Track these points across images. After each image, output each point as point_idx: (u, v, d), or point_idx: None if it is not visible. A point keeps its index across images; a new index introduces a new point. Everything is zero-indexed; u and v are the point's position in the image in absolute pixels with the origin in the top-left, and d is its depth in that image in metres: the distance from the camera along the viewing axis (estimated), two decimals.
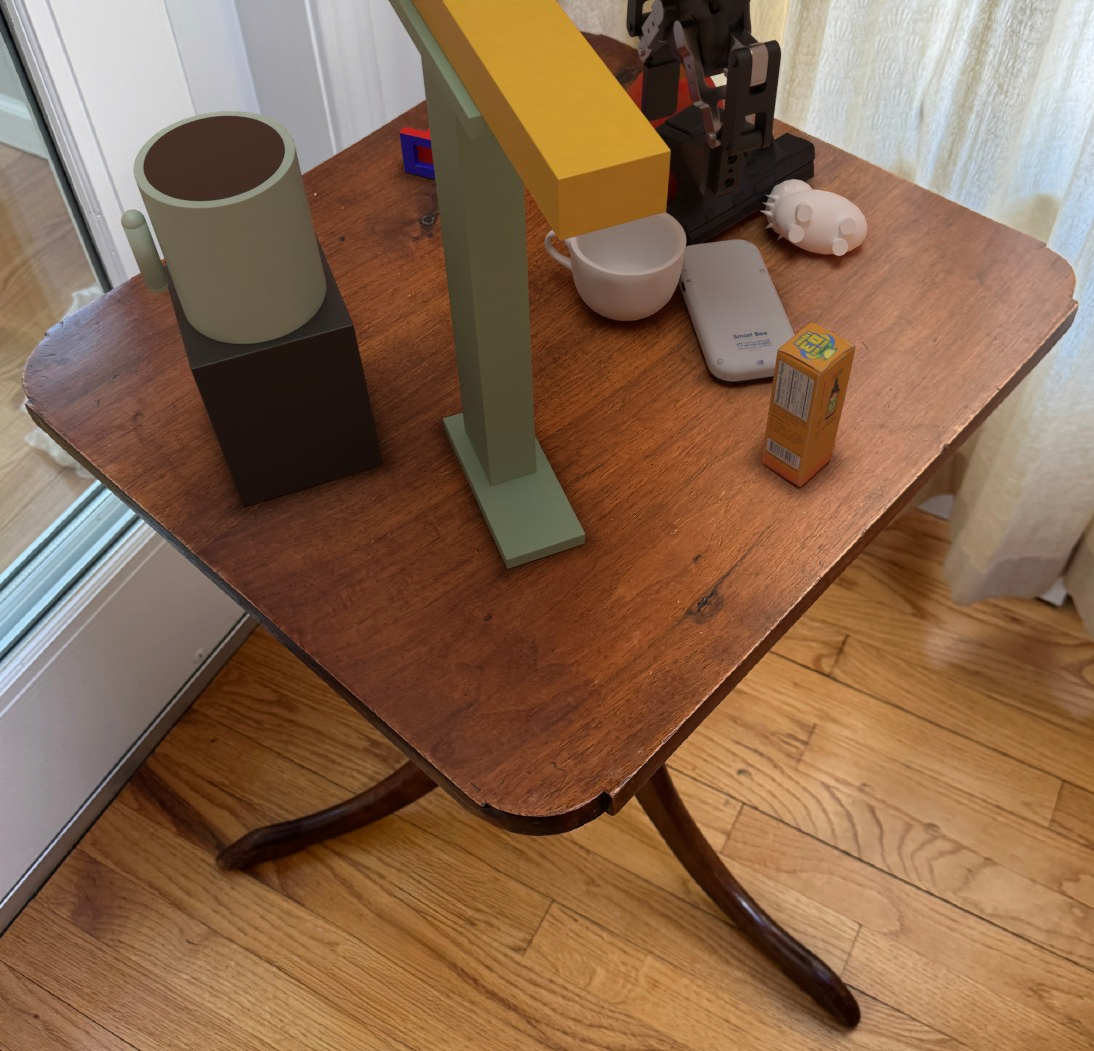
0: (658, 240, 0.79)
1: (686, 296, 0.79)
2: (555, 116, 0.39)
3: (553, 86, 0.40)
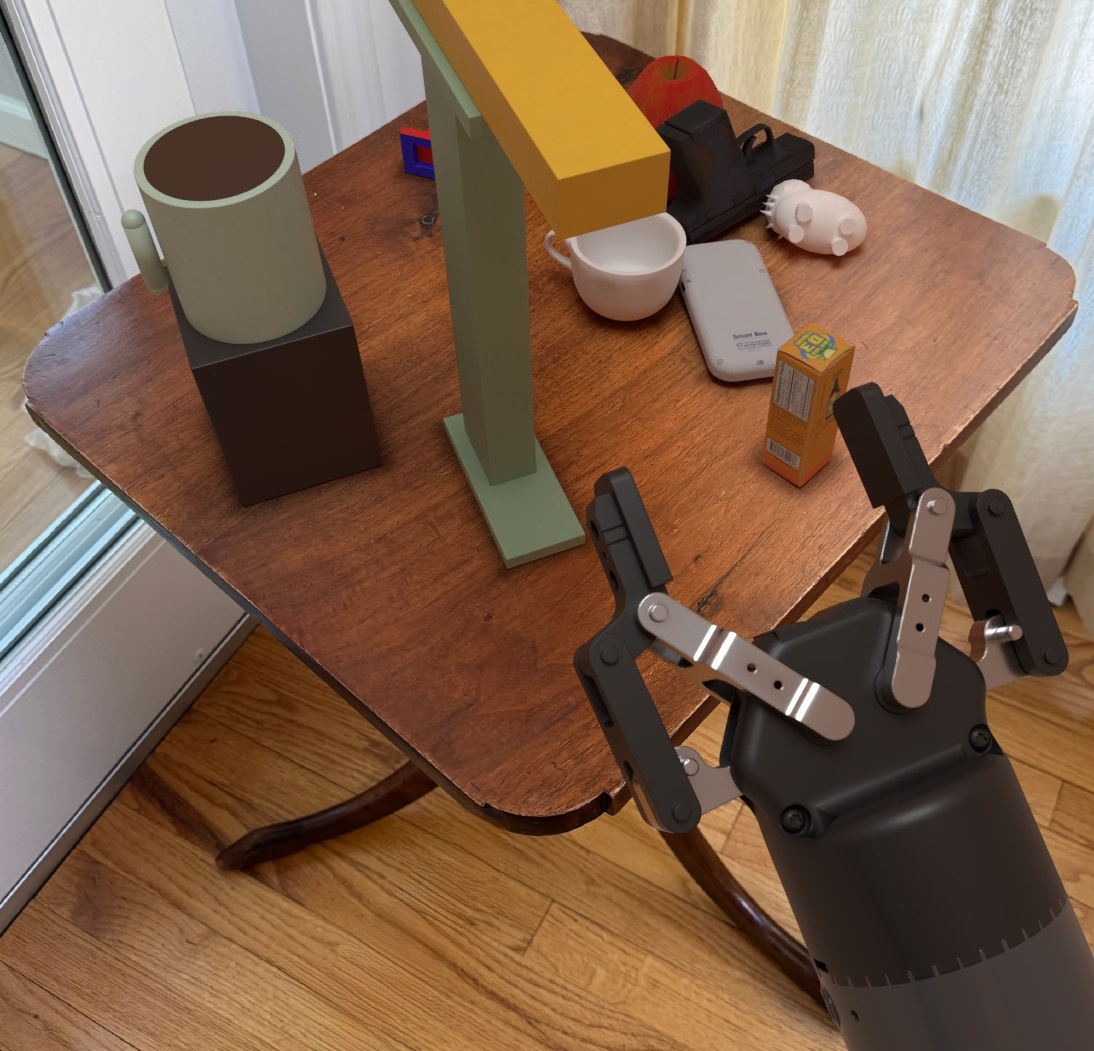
0: (658, 240, 0.79)
1: (686, 296, 0.79)
2: (555, 116, 0.39)
3: (553, 86, 0.40)
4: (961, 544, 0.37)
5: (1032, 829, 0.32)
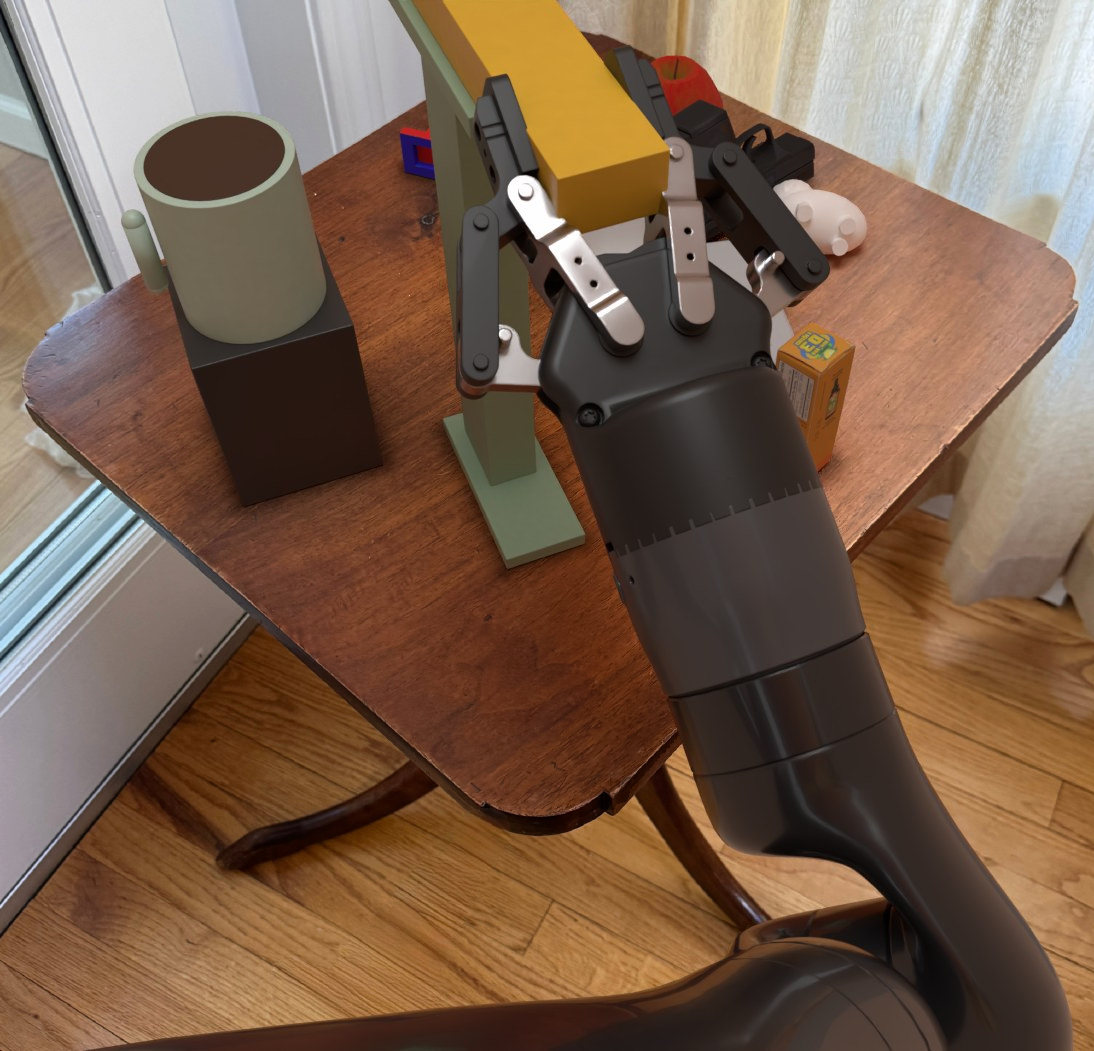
0: None
1: None
2: (554, 116, 0.39)
3: (553, 85, 0.40)
4: (717, 204, 0.41)
5: (791, 424, 0.36)
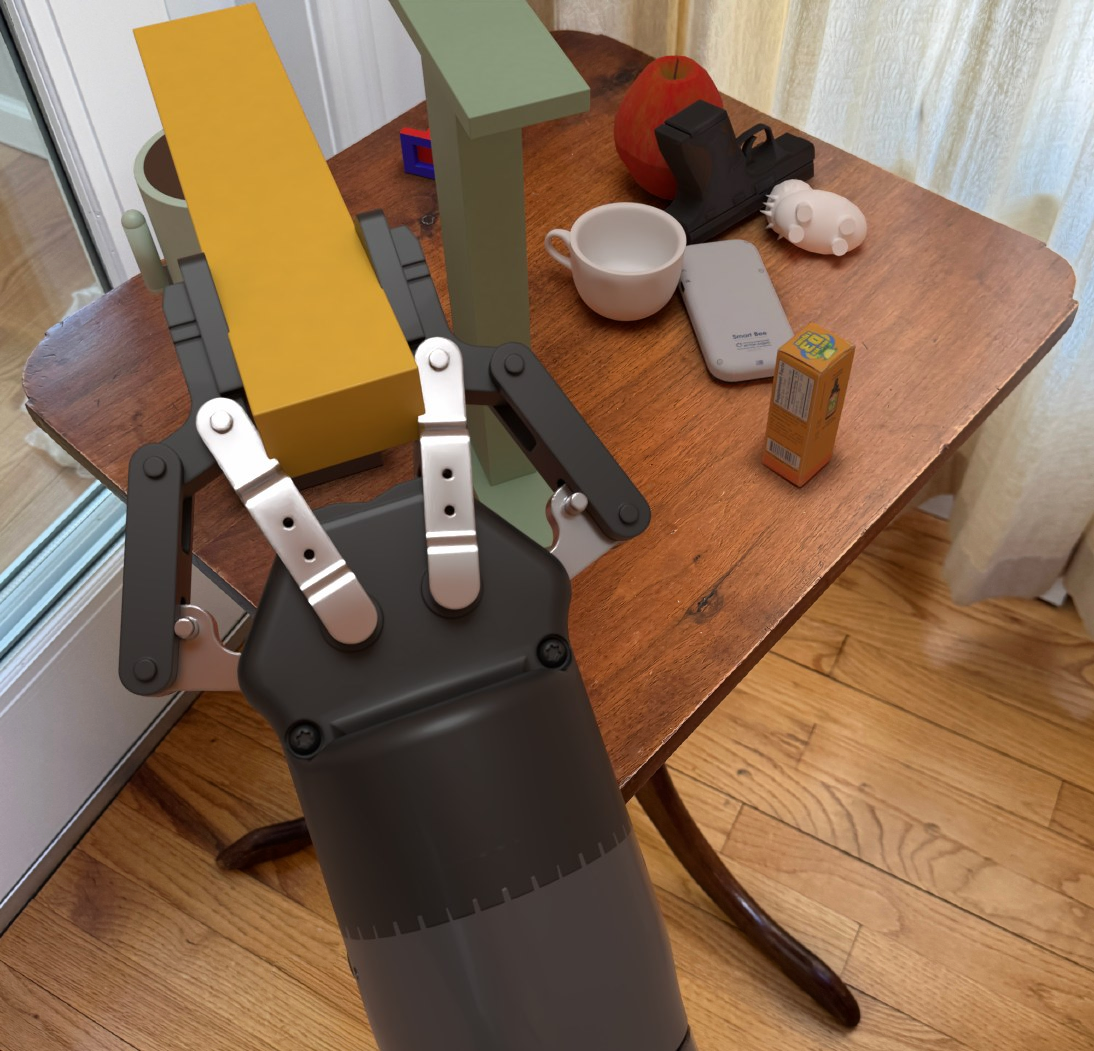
0: (658, 240, 0.79)
1: (685, 296, 0.79)
2: (271, 312, 0.28)
3: (280, 263, 0.29)
4: (511, 414, 0.31)
5: (577, 758, 0.26)
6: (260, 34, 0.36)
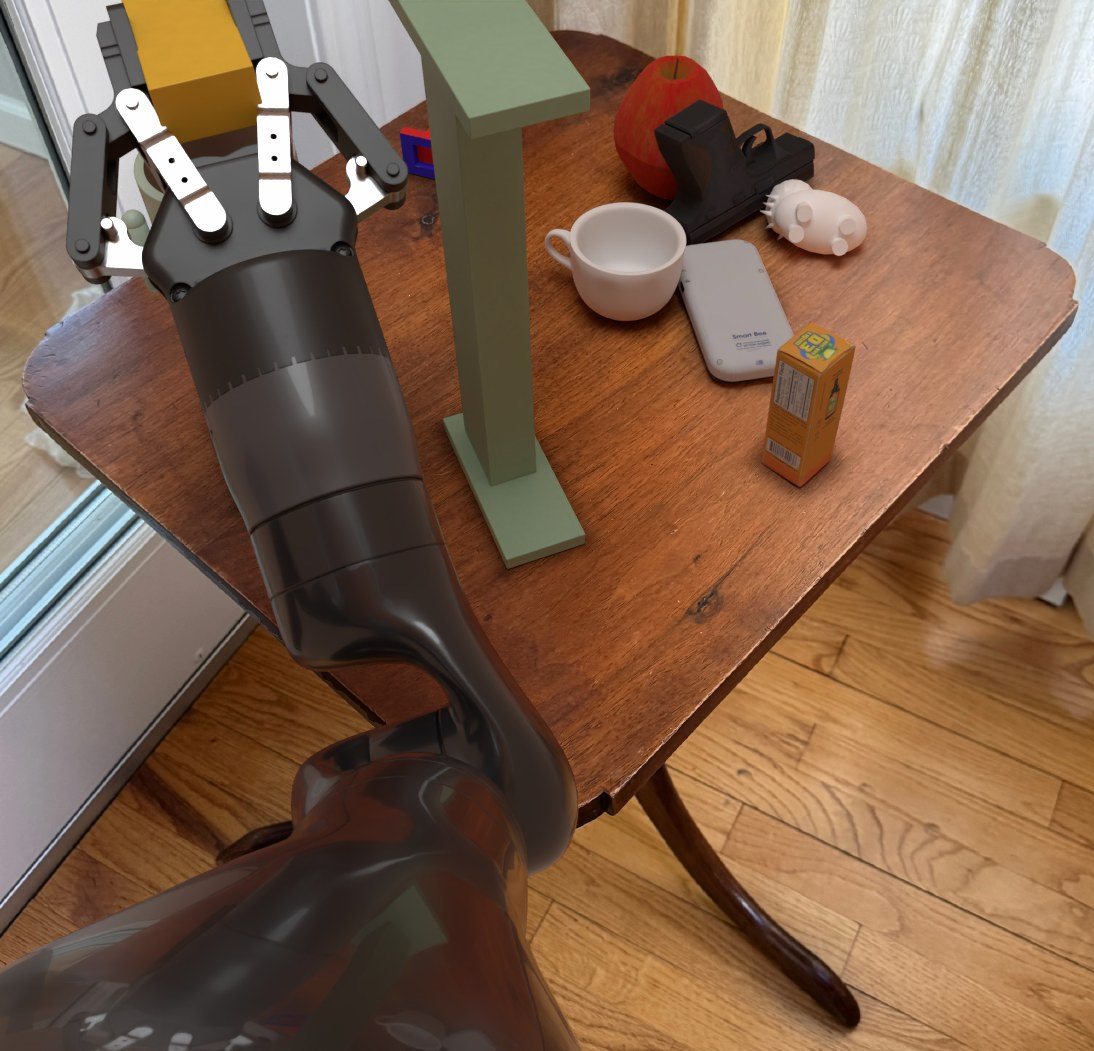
0: (658, 240, 0.79)
1: (685, 296, 0.79)
2: (165, 39, 0.45)
3: (173, 14, 0.46)
4: (326, 119, 0.47)
5: (347, 298, 0.42)
6: None
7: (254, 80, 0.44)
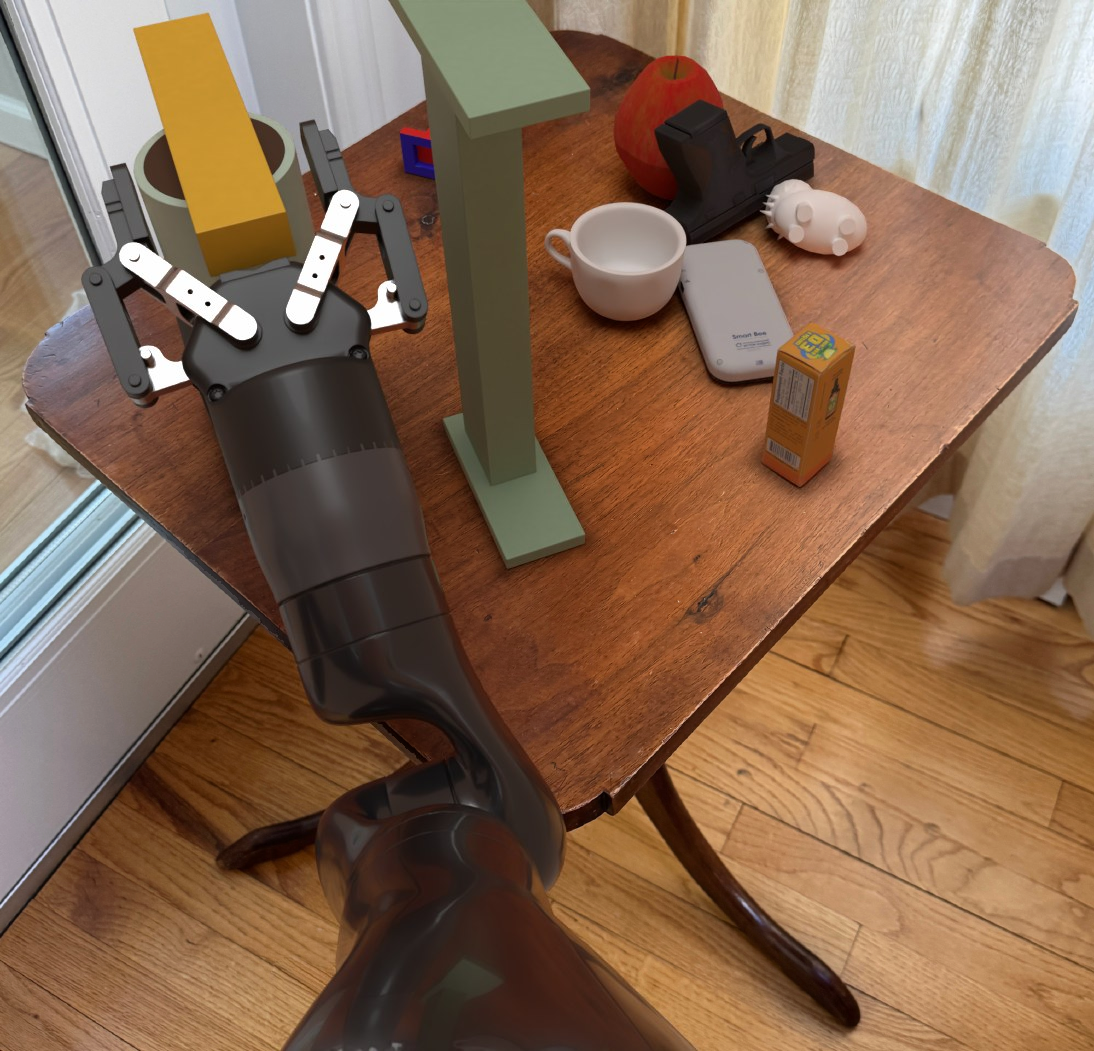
0: (658, 240, 0.79)
1: (685, 296, 0.79)
2: (208, 184, 0.51)
3: (215, 159, 0.52)
4: None
5: (364, 399, 0.48)
6: (210, 32, 0.59)
7: (286, 222, 0.50)
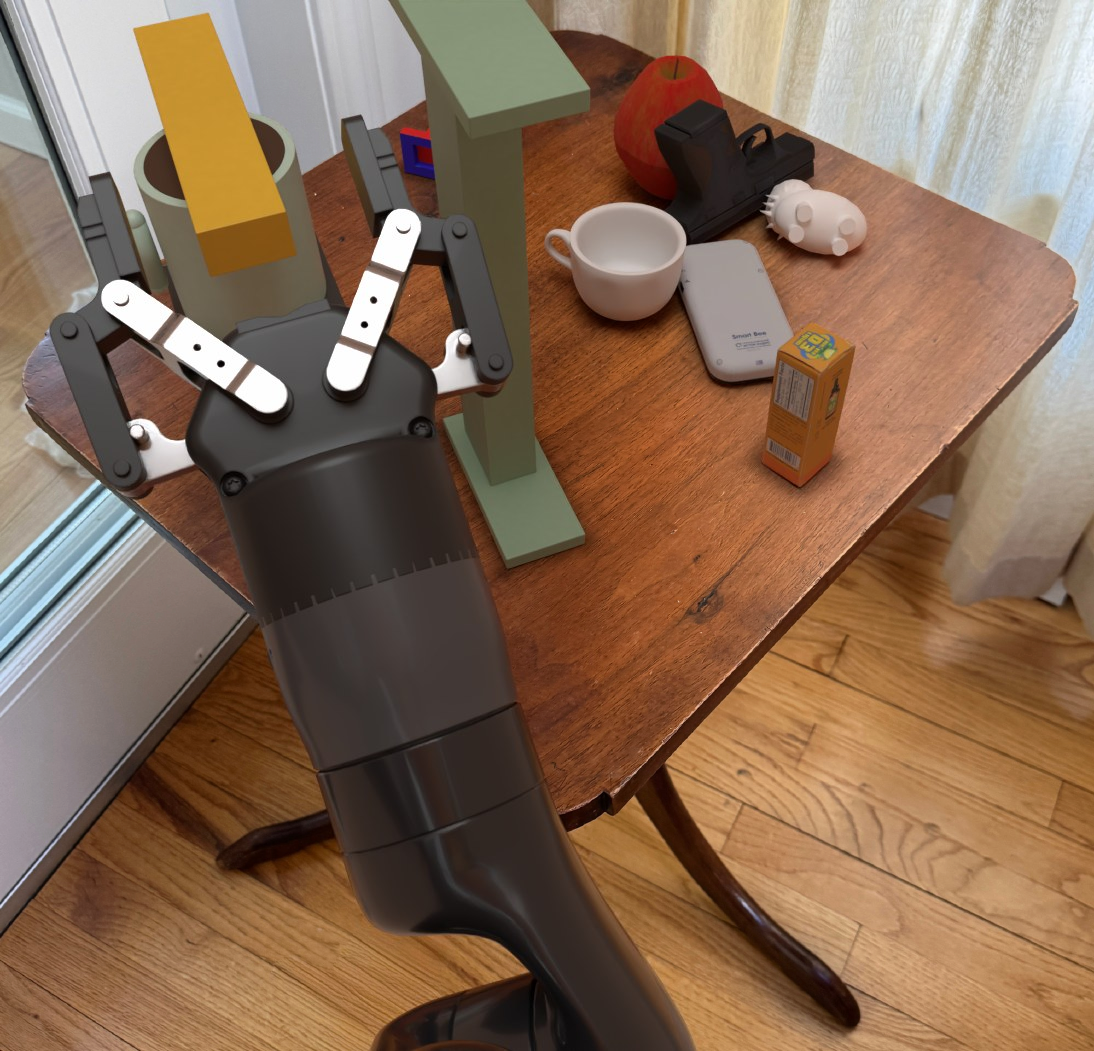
0: (658, 240, 0.79)
1: (684, 296, 0.79)
2: (208, 184, 0.51)
3: (215, 159, 0.52)
4: (450, 273, 0.40)
5: (432, 495, 0.36)
6: (210, 32, 0.59)
7: (286, 222, 0.50)
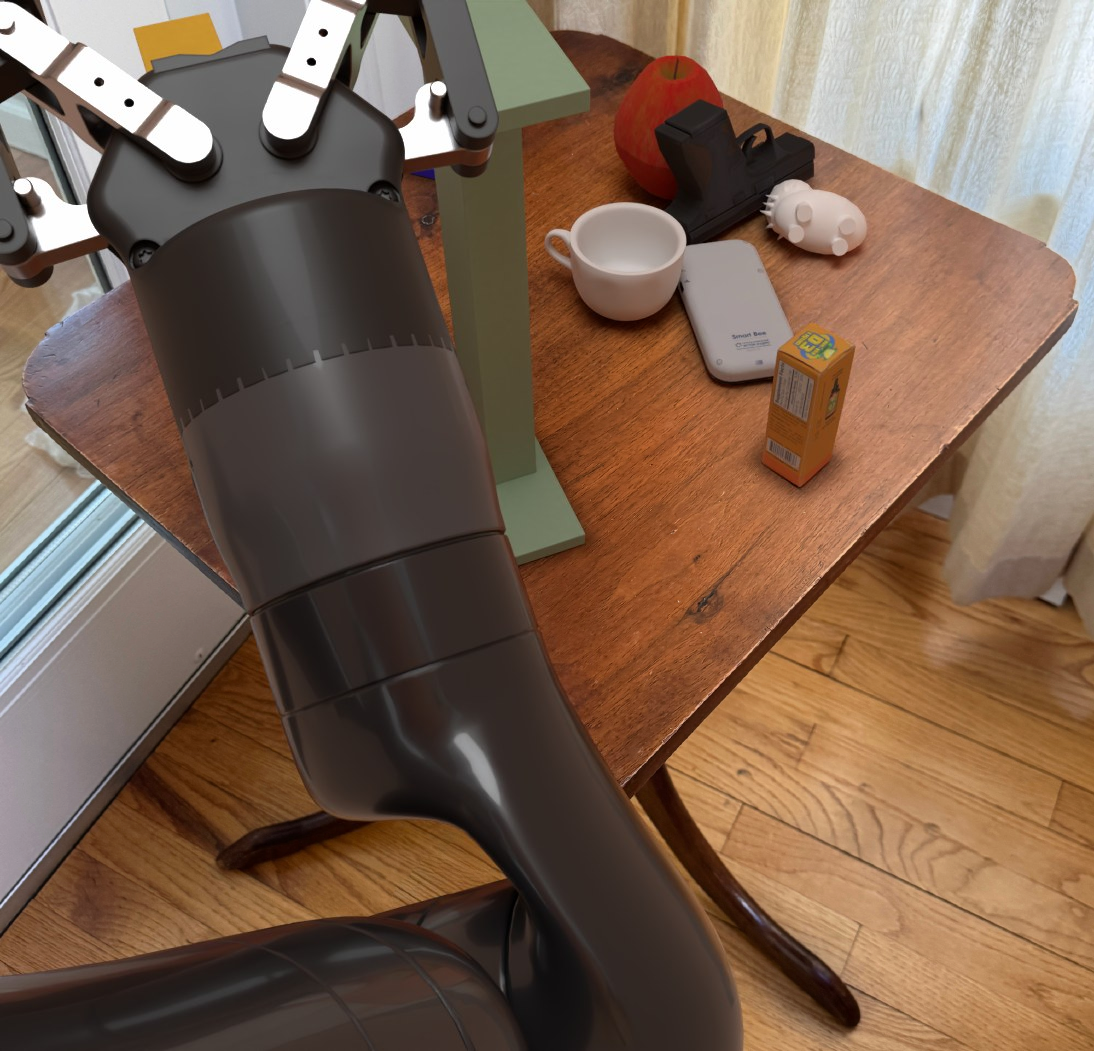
0: (658, 240, 0.79)
1: (684, 296, 0.79)
2: None
3: None
4: (423, 25, 0.33)
5: (395, 263, 0.28)
6: (210, 32, 0.59)
7: None
